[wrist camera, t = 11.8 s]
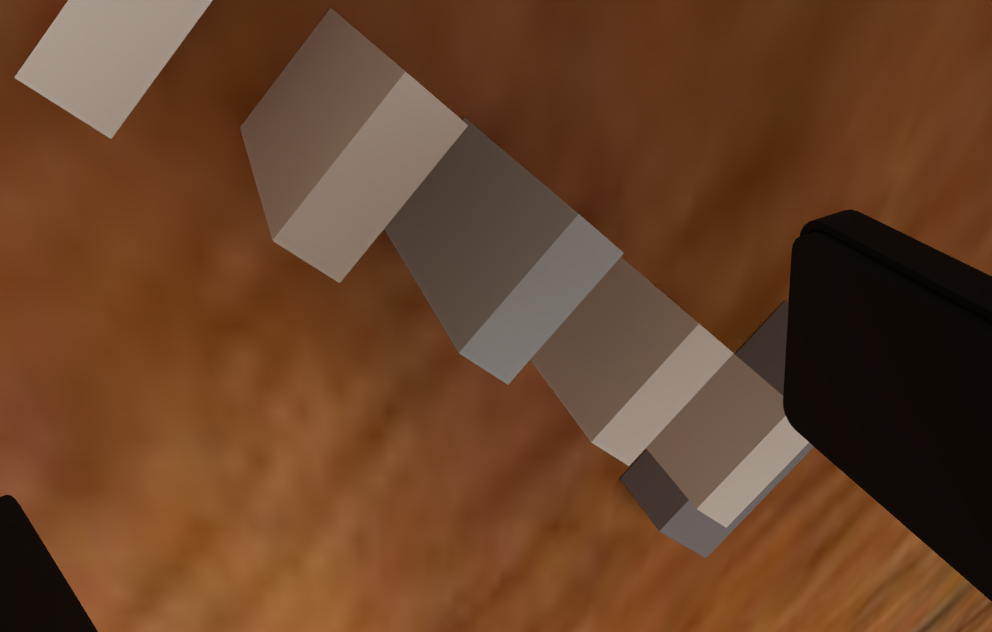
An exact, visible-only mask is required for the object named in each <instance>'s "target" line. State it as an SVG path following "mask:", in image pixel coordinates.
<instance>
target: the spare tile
mask: <svg viewBox="0 0 992 632" xmlns="http://www.w3.org/2000/svg"><path fill="white" fill-rule="evenodd" d="M463 121H464V122H465V123H466V124H467V125H468V126H467V128H466V129H465V130H464V131H463V132H462V134H461V135H460V136H459V137H458V139H457V140H456V141H455V142H454V143H453V145H452V146H451V147H450V148H449V150H448V151H447V152H446V153H445V155H444V156H443V157H442V158H441V159H440V161H439V162H438V163H437V164H436V166H435V167H434V168H433V169H432V171H431V172H430V173H429V174H428V175H427V177H426V178H425V179H424V180H423V182H422V183H421V184H420V185H419V187H418V188H417V189H416V190H415V191H414V193H413V194H412V195H411V196H410V198H409V199H408V200H407V201H406V202H405V204H404V205H403V206H402V207H401V209H400V210H399V211H398V212H397V214H396V215H395V216H394V217H393V218H392V220H391V221H390V222H389V223H388V225H387V226H386V227H385V228H384V230H385V231H386V233H387V235H388V236H389V238H390V240H391V241H392V243H393V245H394V246H395V248H396V250H397V251H398V253H399V255H400V256H401V258H402V260H403V261H404V263H405V265H406V266H407V268H408V270H409V271H410V273H411V275H412V276H413V278H414V280H415V281H416V283H417V285H418V286H419V288H420V290H421V291H422V293H423V295H424V296H425V298H426V300H427V301H428V303H429V305H430V306H431V308H432V310H433V311H434V313H435V315H436V316H437V318H438V320H439V321H440V323H441V325H442V326H443V328H444V330H445V331H446V333H447V335H448V336H449V338H450V339H451V341H452V343H453V344H454V346H455V348H456V349H457V351H458V353H459V354H461V355H462V356H464V357H465V358H467V359H469V360H470V361H472V362H473V363H475V364H476V365H478V366H480V367H481V368H483V369H484V370H486V371H487V372H489V373H490V374H492V375H494V376H495V377H497V378H498V379H500V380H501V381H503V382H504V383H506V384H509V383H510V382H511V381H512V380H513V378H514V377H515V376H516V375H517V374H518V373H519V372H520V371H521V369H522V368H523V367H524V366H525V365H526V364H527V363H528V361H529V360H530V359H531V358H532V357H533V356H534V355H535V354H536V352H537V351H538V350H539V349H540V348H541V347H542V346H543V344H544V343H545V342H546V341H547V340H548V339H549V338H550V337H551V335H552V334H553V333H554V332H555V331H556V330H557V329H558V327H559V326H560V325H561V324H562V323H563V322H564V321H565V319H566V318H567V317H568V316H569V315H570V314H571V313H572V312H573V310H574V309H575V308H576V307H577V306H578V305H579V304H580V302H581V301H582V300H583V299H584V298H585V297H586V296H587V295H588V293H589V292H590V291H591V290H592V289H593V288H594V287H595V285H596V284H597V283H598V282H599V281H600V280H601V279H602V278H603V276H604V275H605V274H606V273H607V272H608V271H609V270H610V268H611V267H612V266H613V265H614V264H615V263H616V262H617V261H618V259H619V258H620V257H621V256H622V255H623V254H624V253H623V252H622V251H621V250H620V249H619V248H617V247H616V246H615V245H614V244H613V243H612V242H611V241H609V240H608V239H607V238H606V237H605V236H604V235H602V234H601V233H600V232H599V231H598V230H597V229H596V228H594V227H593V226H592V225H591V224H590V223H589V222H588V221H586V220H585V219H584V218H583V217H582V216H581V215H580V214H578V213H577V212H576V211H575V210H574V209H572V208H571V207H570V206H569V205H568V204H567V203H565V202H564V201H563V200H562V199H561V198H559V197H558V196H557V195H556V194H555V193H554V192H552V191H551V190H550V189H549V188H548V187H546V186H545V185H544V184H543V183H542V182H541V181H539V180H538V179H537V178H536V177H535V176H533V175H532V174H531V173H530V172H529V171H528V170H526V169H525V168H524V167H523V166H522V165H520V164H519V163H518V162H517V161H516V160H514V159H513V158H512V157H511V156H510V155H509V154H507V153H506V152H505V151H504V150H503V149H501V148H500V147H499V146H498V145H497V144H496V143H494V142H493V141H492V140H491V139H490V138H488V137H487V136H486V135H485V134H484V133H483V132H481V131H480V130H479V129H478V128H477V127H475V126H474V125H473V124H472V123H471V122H470V121H468V120H467V119H466V118H464V119H463Z"/></svg>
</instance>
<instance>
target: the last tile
mask: <svg viewBox="0 0 992 632" xmlns="http://www.w3.org/2000/svg"><path fill="white" fill-rule="evenodd" d="M808 443H809V442H808V441H807V440H806V439H805V438H804V437H803V436H801V435H800V434H799V433H798V432H797V431H796V430H795V429H794V428H793V427H792V426H791V424H790V423H789V421H788V420H787V417H786V415H785V412H784V408H783V395H781V394H780V393H779V392H778V391H777V390H776V389H774V388H773V387H772V386H771V385H770V384H769V383H767V382H766V381H765V380H764V379H763V378H762V377H760V376H759V375H758V374H757V373H756V372H755V371H753V370H752V369H751V368H750V367H749V366H748V365H746V364H745V363H744V362H743V361H742V360H741V359H739V358H738V357H737V356H736V355H735V354H734V353H733V354H732V356H731V357H730V358H729V359H728V360H727V361H726V362H725V363H724V364H723V365H722V366H721V367H720V368H719V370H718V371H717V372H716V373H715V374H714V375H713V376H712V377H711V378H710V379H709V380H708V381H707V382H706V384H705V385H704V386H703V387H702V388H701V389H700V390H699V391H698V392H697V393H696V394H695V395H694V397H693V398H692V399H691V400H690V401H689V402H688V403H687V404H686V405H685V406H684V407H683V408H682V409H681V411H680V412H679V413H678V414H677V415H676V416H675V417H674V418H673V419H672V420H671V421H670V422H669V423H668V425H667V426H666V427H665V428H664V429H663V430H662V431H661V432H660V433H659V434H658V435H657V436H656V438H655V439H654V440H653V441H652V442H651V443H650V444H649V445H648V446H647V447H646V449H647V450H648V451H649V452H650V453H651V455H652V456H653V457H654V458H655V460H656V461H657V462H658V463H659V464H660V466H661V467H662V468H663V469H664V470H665V472H666V473H667V474H668V475H669V476H670V478H671V479H672V480H673V481H674V482H675V484H676V485H677V486H678V487H679V489H680V490H681V491H682V492H683V493H684V495H685V496H686V497H687V498H688V499H689V501H690V502H691V503H692V504H693V505H694V507H695V508H696V509H697V510H699V511H700V512H702V513H704V514H705V515H707V516H708V517H710V518H711V519H713V520H715V521H716V522H718V523H719V524H721V525H723V526H724V527H726V528H727V527H728V526H729V525H730V524H731V523H732V522H733V520H734V519H735V518H736V517H737V516H738V515H739V514H740V513H741V512H742V511H743V510H744V509H745V508H746V507H747V506H748V505H749V504H750V503H751V502H752V501H753V500H754V499H755V498H756V497H757V496H758V495H759V494H760V493H761V492H762V491H763V490H764V488H765V487H766V486H767V485H768V484H769V483H770V482H771V481H772V480H773V479H774V478H775V477H776V476H777V475H778V474H779V473H780V472H781V471H782V470H783V469H784V468H785V467H786V466H787V465H788V464H789V463H790V462H791V461H792V460H793V459H794V457H795V456H796V455H797V454H798V453H799V452H800V451H801V450H802V449H803V448H804V447H805V446H806V445H807V444H808Z"/></svg>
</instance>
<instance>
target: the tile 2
mask: <svg viewBox="0 0 992 632" xmlns="http://www.w3.org/2000/svg"><path fill="white" fill-rule="evenodd" d="M467 126H468V125H467V124H466V123H465V122H464V121H463V120H461V119H460V118H459V117H458V116H457V115H456V114H454V113H453V112H452V111H451V110H450V109H449V108H447V107H446V106H445V105H444V104H443V103H442V102H440V101H439V100H438V99H437V98H436V97H435V96H433V95H432V94H431V93H430V92H429V91H428V90H426V89H425V88H424V87H423V86H422V85H421V84H419V83H418V82H417V81H416V80H415V79H414V78H413V77H411V76H410V75H409V74H408V73H407V72H406V71H404V70H403V69H402V68H401V67H400V66H399V65H397V64H396V63H395V62H394V61H393V60H392V59H390V58H389V57H388V56H387V55H386V54H385V53H383V52H382V51H381V50H380V49H379V48H378V47H376V46H375V45H374V44H373V43H372V42H371V41H369V40H368V39H367V38H366V37H365V36H364V35H362V34H361V33H360V32H359V31H358V30H357V29H355V28H354V27H353V26H352V25H351V24H350V23H348V22H347V21H346V20H345V19H344V18H343V17H341V16H340V15H339V14H338V13H337V12H336V11H334V10H333V9H332V8H330V9H329V11H328V12H327V13H326V15H325V16H324V17H323V18H322V20H321V21H320V22H319V24H318V25H317V26H316V28H315V29H314V30H313V32H312V33H311V34H310V36H309V37H308V38H307V40H306V41H305V42H304V44H303V45H302V46H301V47H300V49H299V50H298V51H297V53H296V54H295V55H294V57H293V58H292V59H291V61H290V62H289V63H288V65H287V66H286V67H285V69H284V70H283V71H282V72H281V74H280V75H279V76H278V78H277V79H276V80H275V82H274V83H273V84H272V86H271V87H270V88H269V90H268V91H267V92H266V94H265V95H264V96H263V98H262V99H261V100H260V101H259V103H258V104H257V105H256V107H255V108H254V109H253V111H252V112H251V113H250V115H249V116H248V117H247V119H246V120H245V121H244V123H243V124H242V125H241V126H240V130H241V134H242V137H243V141H244V144H245V148H246V151H247V155H248V158H249V162H250V165H251V169H252V172H253V175H254V179H255V182H256V186H257V189H258V193H259V196H260V200H261V203H262V207H263V210H264V214H265V217H266V221H267V224H268V227H269V231H270V234H271V238H272V241H274V242H275V243H277V244H278V245H280V246H281V247H283V248H285V249H286V250H288V251H289V252H291V253H292V254H294V255H296V256H297V257H299V258H300V259H302V260H304V261H305V262H307V263H308V264H310V265H311V266H313V267H315V268H316V269H318V270H319V271H321V272H323V273H324V274H326V275H327V276H329V277H330V278H332V279H334V280H335V281H337V282H338V283H340V282H341V281H342V280H343V279H344V277H345V276H346V275H347V274H348V273H349V271H350V270H351V269H352V268H353V266H354V265H355V264H356V263H357V262H358V260H359V259H360V258H361V257H362V255H363V254H364V253H365V252H366V250H367V249H368V248H369V247H370V246H371V244H372V243H373V242H374V241H375V239H376V238H377V237H378V236H379V234H380V233H381V232H382V231H383V230H384V228H385V227H386V226H387V225H388V223H389V222H390V221H391V220H392V218H393V217H394V216H395V215H396V214H397V212H398V211H399V210H400V209H401V207H402V206H403V205H404V204H405V202H406V201H407V200H408V199H409V198H410V196H411V195H412V194H413V193H414V191H415V190H416V189H417V188H418V187H419V185H420V184H421V183H422V182H423V180H424V179H425V178H426V177H427V175H428V174H429V173H430V172H431V171H432V169H433V168H434V167H435V166H436V164H437V163H438V162H439V161H440V159H441V158H442V157H443V156H444V155H445V153H446V152H447V151H448V150H449V148H450V147H451V146H452V145H453V143H454V142H455V141H456V140H457V139H458V137H459V136H460V135H461V134H462V132H463V131H464V130H465V129H466V128H467Z"/></svg>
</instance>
